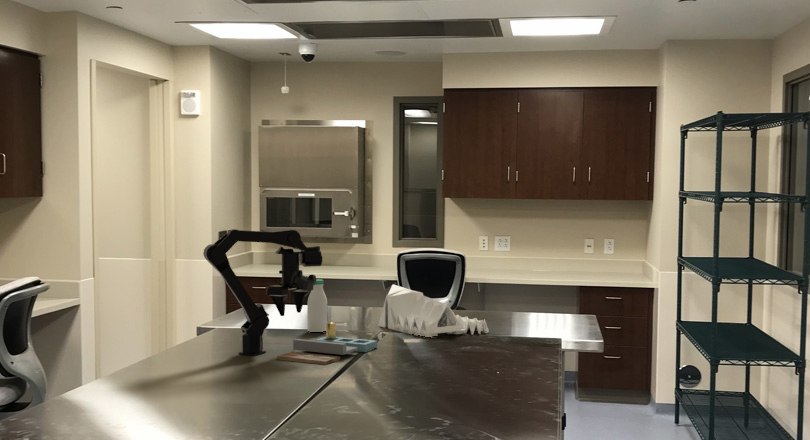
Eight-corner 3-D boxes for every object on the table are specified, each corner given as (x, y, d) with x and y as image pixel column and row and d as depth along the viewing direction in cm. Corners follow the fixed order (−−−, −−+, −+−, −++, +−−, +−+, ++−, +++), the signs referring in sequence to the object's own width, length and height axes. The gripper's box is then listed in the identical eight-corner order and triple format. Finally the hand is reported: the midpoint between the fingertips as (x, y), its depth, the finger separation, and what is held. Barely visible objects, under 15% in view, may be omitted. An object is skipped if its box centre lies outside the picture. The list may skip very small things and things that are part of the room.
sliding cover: (343, 354, 226) (343, 344, 226) (293, 349, 235) (293, 339, 235) (357, 349, 234) (357, 339, 234) (309, 345, 243) (309, 335, 243)
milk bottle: (326, 333, 274) (326, 280, 274) (306, 333, 274) (305, 280, 274) (328, 330, 282) (328, 278, 282) (309, 330, 282) (308, 278, 282)
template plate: (325, 364, 218) (325, 361, 218) (277, 359, 226) (277, 355, 226) (339, 359, 225) (339, 356, 225) (292, 354, 234) (292, 351, 234)
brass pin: (332, 347, 246) (332, 323, 246) (324, 346, 247) (324, 323, 247) (337, 345, 249) (337, 322, 249) (329, 345, 250) (329, 322, 250)
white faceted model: (491, 333, 275) (490, 290, 274) (434, 341, 259) (434, 294, 259) (426, 320, 309) (426, 281, 309) (373, 326, 294) (372, 285, 293)
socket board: (365, 352, 237) (365, 344, 237) (314, 347, 246) (314, 339, 246) (377, 348, 244) (377, 340, 244) (327, 343, 254) (327, 336, 254)
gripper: (293, 270, 229) (293, 319, 229) (326, 266, 245) (326, 312, 246) (265, 269, 234) (265, 317, 234) (299, 265, 251) (299, 310, 251)
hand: (290, 314), depth 241 cm, fingers open, 9 cm apart
